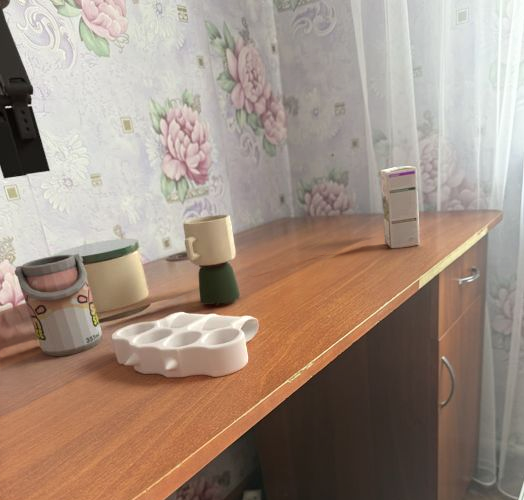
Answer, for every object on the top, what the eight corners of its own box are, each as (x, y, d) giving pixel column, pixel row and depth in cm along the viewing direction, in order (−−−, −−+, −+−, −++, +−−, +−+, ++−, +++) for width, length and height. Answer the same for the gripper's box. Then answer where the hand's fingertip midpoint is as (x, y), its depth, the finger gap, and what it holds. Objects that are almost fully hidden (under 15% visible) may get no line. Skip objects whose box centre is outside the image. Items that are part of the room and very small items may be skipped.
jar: (63, 314, 85) (45, 253, 82) (135, 293, 92) (121, 236, 88) (85, 330, 75) (65, 261, 71) (165, 305, 81) (150, 241, 78)
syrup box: (420, 245, 96) (419, 165, 91) (389, 249, 97) (386, 170, 91) (412, 239, 102) (410, 164, 96) (383, 243, 102) (379, 169, 96)
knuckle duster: (282, 337, 61) (213, 392, 50) (170, 328, 70) (90, 373, 59) (279, 311, 60) (207, 361, 48) (165, 305, 69) (83, 346, 57)
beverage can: (110, 348, 66) (86, 258, 61) (44, 366, 63) (13, 274, 58) (99, 330, 74) (77, 250, 69) (40, 346, 71) (12, 263, 66)
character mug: (223, 291, 85) (209, 213, 80) (258, 292, 81) (246, 211, 76) (181, 312, 76) (163, 227, 72) (218, 315, 73) (202, 225, 68)
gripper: (20, -90, 44) (85, 165, 52) (-15, -1, 64) (36, 174, 72) (-78, -100, 40) (8, 176, 48) (-83, -2, 60) (-21, 182, 68)
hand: (25, 175), depth 60 cm, fingers open, 13 cm apart
